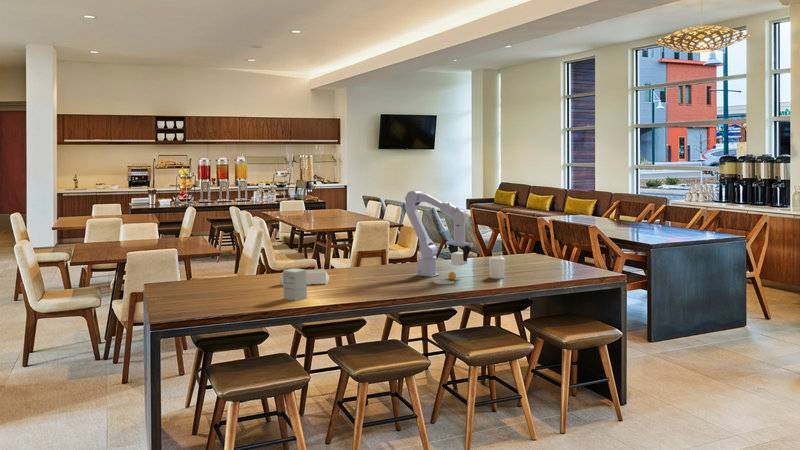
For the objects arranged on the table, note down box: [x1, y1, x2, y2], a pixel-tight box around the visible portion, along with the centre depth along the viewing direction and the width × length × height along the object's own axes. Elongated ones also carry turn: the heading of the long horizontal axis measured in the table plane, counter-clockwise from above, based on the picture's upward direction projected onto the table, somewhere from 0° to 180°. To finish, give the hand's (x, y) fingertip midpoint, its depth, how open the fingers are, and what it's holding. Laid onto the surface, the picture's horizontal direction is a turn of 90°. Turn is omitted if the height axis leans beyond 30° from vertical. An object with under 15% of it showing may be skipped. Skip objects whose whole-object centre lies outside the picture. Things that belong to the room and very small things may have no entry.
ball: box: [447, 271, 457, 281], centre depth 354 cm, size 4×4×4 cm
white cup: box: [488, 256, 506, 280], centre depth 359 cm, size 8×8×10 cm
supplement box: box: [282, 267, 308, 302], centre depth 312 cm, size 7×7×13 cm
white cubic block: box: [450, 251, 468, 267], centre depth 360 cm, size 6×6×6 cm
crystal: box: [278, 268, 330, 286], centre depth 347 cm, size 7×7×24 cm
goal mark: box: [433, 279, 455, 285], centre depth 348 cm, size 10×10×1 cm
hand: (459, 260), depth 360 cm, fingers closed on white cubic block, 6 cm apart
